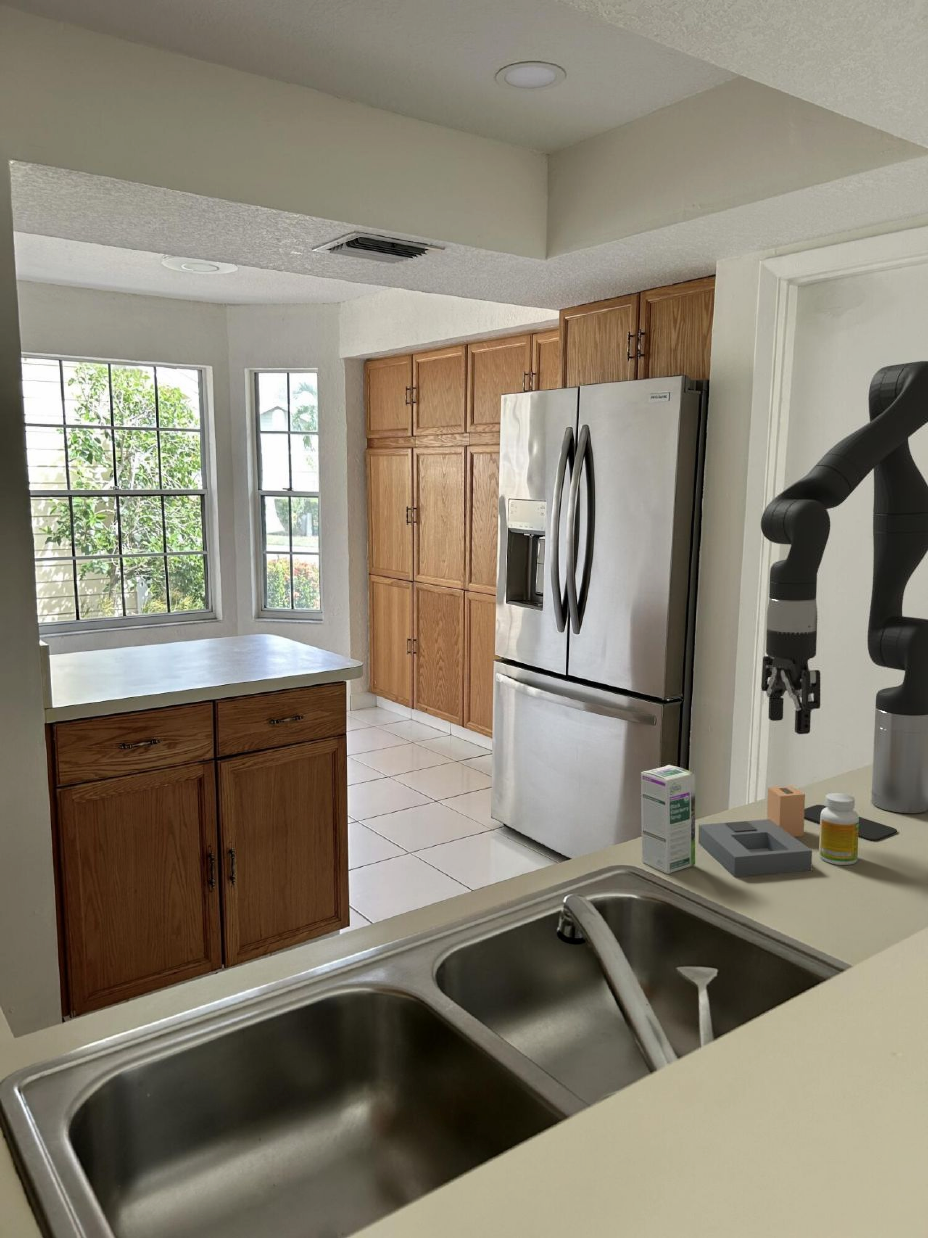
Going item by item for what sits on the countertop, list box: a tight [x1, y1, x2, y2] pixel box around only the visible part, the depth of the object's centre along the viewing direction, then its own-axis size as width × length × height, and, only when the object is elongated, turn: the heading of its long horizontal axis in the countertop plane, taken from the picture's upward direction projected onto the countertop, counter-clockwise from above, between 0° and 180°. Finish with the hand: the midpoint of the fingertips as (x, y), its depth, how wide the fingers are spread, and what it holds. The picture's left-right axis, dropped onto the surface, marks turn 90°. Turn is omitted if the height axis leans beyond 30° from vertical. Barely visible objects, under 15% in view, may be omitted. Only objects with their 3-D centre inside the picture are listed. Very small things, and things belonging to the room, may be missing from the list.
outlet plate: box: [697, 818, 813, 878], centre depth 139 cm, size 12×13×3 cm
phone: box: [804, 804, 898, 842], centre depth 152 cm, size 7×1×15 cm
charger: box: [766, 785, 806, 838], centre depth 148 cm, size 4×4×7 cm
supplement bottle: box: [818, 792, 860, 866], centre depth 137 cm, size 5×5×10 cm
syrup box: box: [640, 764, 696, 875], centre depth 136 cm, size 6×6×14 cm
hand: (788, 726), depth 146 cm, fingers open, 8 cm apart
